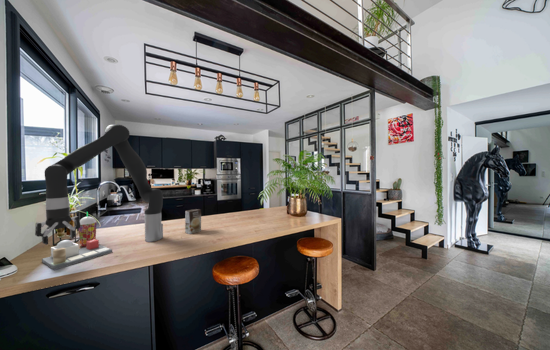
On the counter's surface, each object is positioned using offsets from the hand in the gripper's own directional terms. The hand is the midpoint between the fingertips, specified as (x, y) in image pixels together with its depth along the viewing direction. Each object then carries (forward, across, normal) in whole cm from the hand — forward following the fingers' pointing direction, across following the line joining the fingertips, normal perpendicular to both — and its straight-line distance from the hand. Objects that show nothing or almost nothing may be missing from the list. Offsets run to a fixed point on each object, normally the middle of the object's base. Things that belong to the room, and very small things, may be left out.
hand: (59, 241), depth 93 cm
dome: (+8, -4, -9) cm, 13 cm away
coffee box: (+13, -64, +13) cm, 67 cm away
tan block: (+10, 0, 0) cm, 10 cm away
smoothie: (+12, -17, -22) cm, 31 cm away
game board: (+12, -8, -5) cm, 15 cm away
